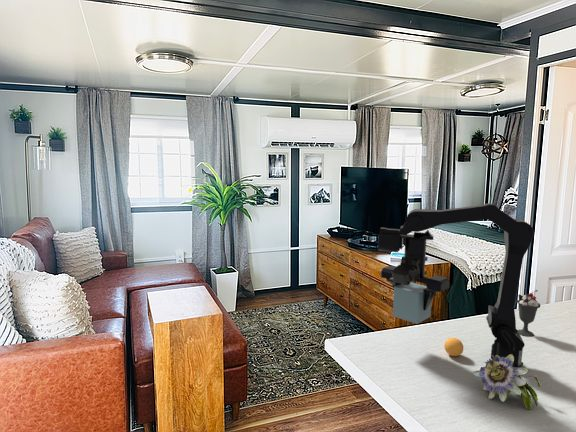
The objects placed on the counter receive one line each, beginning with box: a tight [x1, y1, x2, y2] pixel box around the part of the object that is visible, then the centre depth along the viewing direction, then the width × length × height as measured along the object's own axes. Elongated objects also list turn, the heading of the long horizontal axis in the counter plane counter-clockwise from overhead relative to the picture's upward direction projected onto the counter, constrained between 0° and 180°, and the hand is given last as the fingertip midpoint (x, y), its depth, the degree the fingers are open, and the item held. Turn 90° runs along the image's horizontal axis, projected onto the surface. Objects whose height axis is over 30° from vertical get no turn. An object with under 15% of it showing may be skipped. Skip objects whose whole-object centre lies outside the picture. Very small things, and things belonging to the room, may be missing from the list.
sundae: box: [515, 289, 541, 338], centre depth 125 cm, size 7×7×15 cm
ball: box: [443, 337, 464, 357], centre depth 111 cm, size 5×5×5 cm
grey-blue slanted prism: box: [392, 281, 432, 325], centre depth 113 cm, size 8×8×9 cm
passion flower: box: [472, 354, 542, 411], centre depth 92 cm, size 11×11×12 cm
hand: (412, 306), depth 114 cm, fingers closed on grey-blue slanted prism, 8 cm apart
